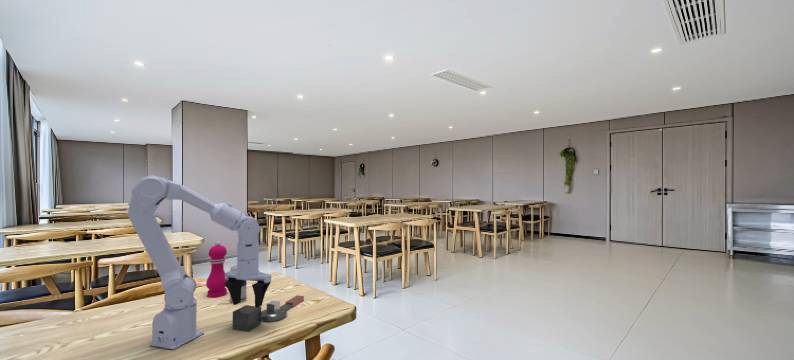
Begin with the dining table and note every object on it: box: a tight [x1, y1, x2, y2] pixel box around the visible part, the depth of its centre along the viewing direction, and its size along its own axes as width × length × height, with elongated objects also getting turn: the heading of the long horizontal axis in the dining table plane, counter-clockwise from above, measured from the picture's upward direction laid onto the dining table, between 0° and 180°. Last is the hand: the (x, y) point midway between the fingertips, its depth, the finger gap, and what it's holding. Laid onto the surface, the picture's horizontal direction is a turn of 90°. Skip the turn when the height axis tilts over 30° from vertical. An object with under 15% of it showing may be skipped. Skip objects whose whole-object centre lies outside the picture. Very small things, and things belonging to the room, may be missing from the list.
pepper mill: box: [205, 240, 228, 298], centre depth 122 cm, size 7×7×20 cm
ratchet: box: [261, 295, 305, 324], centre depth 108 cm, size 20×8×4 cm, turn 165°
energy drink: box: [229, 264, 248, 304], centre depth 116 cm, size 5×5×12 cm
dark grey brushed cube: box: [232, 304, 262, 332], centre depth 95 cm, size 5×5×5 cm
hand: (247, 305), depth 95 cm, fingers open, 7 cm apart
